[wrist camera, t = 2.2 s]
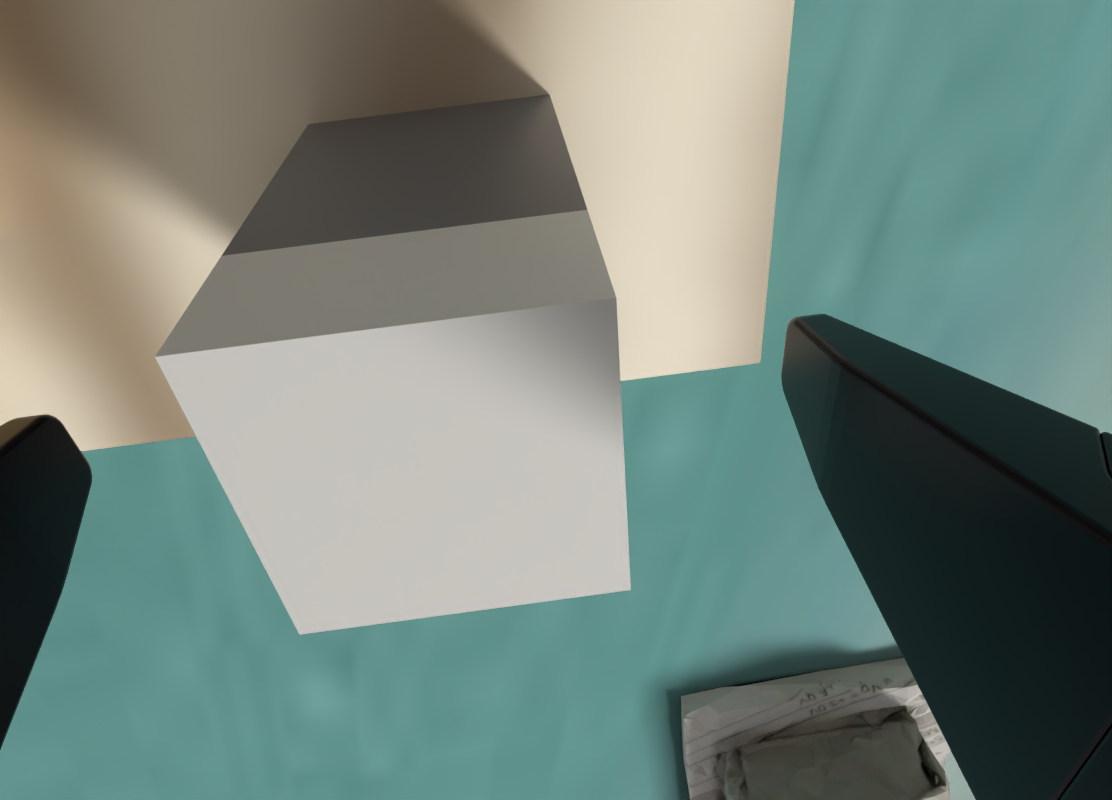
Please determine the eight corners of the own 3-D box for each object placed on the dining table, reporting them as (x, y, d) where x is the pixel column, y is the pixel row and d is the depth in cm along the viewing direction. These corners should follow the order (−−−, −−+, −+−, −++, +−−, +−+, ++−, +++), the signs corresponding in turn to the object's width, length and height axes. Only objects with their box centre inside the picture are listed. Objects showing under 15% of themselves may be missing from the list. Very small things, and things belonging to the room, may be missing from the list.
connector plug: (369, 331, 14) (300, 634, 9) (308, 124, 12) (154, 356, 6) (569, 306, 14) (630, 589, 9) (549, 94, 12) (616, 297, 6)
